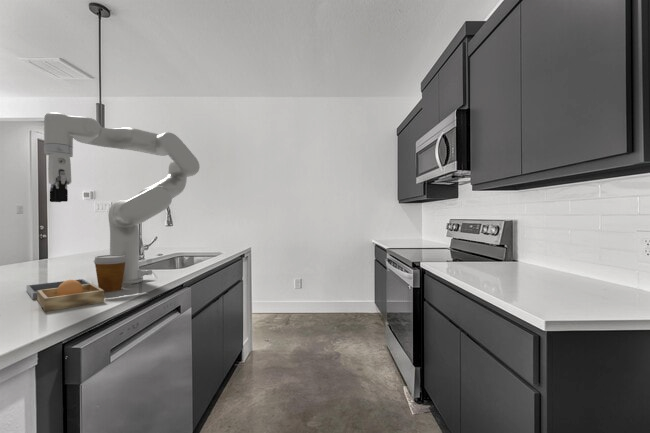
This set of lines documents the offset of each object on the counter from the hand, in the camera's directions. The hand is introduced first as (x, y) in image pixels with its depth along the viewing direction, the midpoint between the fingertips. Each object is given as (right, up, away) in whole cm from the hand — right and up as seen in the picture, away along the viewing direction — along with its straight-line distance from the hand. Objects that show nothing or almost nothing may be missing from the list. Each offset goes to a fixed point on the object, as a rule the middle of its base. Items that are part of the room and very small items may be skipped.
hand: (58, 201), depth 111 cm
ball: (+14, -30, -13) cm, 36 cm away
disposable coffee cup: (+17, -31, 0) cm, 35 cm away
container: (+3, -30, -3) cm, 31 cm away
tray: (+15, -31, -13) cm, 36 cm away
